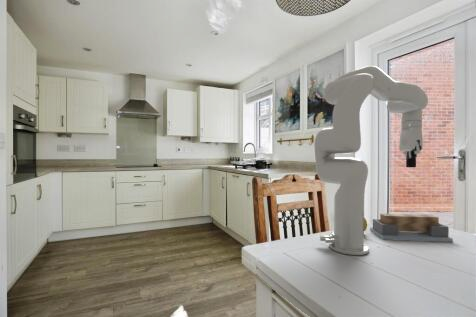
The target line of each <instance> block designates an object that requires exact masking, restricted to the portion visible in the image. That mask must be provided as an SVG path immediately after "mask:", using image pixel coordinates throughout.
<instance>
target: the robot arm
mask: <svg viewBox="0 0 476 317" xmlns="http://www.w3.org/2000/svg"><path fill="white" fill-rule="evenodd" d="M369 95H371V96H372V97H373V98H375V99H376V100H379V101H381V102H382V101H383V102H386V109H387V111H388V112H389V113H391V114H395V115H397V114H401V115H400V116H401V117H400V118H401V119H400V120H401V124H400V125H401V129H400V134H399V145H398V146H399V148H398V149H399V151H400V152H402V153H403V154H404V155H405V160H406V161H405V167H406V168H416V167H417V158H418V155H419V154H420V153H421V151H422V150H423V146H424V145H423V144H424V140H423V130H422V129H423V110H425V109H427V106H428V105H429V97H428V95H427V93H426V92H425V91H424V90H423V89H422V88H421V87H420V86H419V85H416V84H414V83H410V82H406V81H405V82H403V81H398V80H394V79H393V78H391V77H390V75H388V74H386V72H384V71H383V70H382V69H381V68H379V67H378V66H375V65H367V66H363V67H361V68H358V69H354V70H352V71H349V72H346V73H344V74H343V75H341V76H339V77H337V78H336V79H334V80H331V81H329V83H327V84H326V85H325V87H324V90H323V98H324V100H325V102H327V104H330V105H334V107H333V111H332V127H327V128H323V129H320V130H319V131H318V132H317V134H316V136H315V138H314V156H315V168H316V169H315V170H316V173H317V174H316V175H317V177H318V179H319V180H320V181H321V182H324V183H326V184H327V183H328V184H334V185H335V184H336V185H339V188H338V189H337V190H336V192H335V194H334V199H333V202H334V203H333V204H334V205H333V206H334V207H333V208H334V209H333V213H334V214H333V217H334V218H333V219H334V220H333V232H331V234H328V235H323V234H321V235H319V240H320V242H325V244H326V243H327V244H328V245H329V248H330V249H331V250H333V251H334V252H337V253H340V254H344V255H347V256H349V255H350V256H362V255H366V254H368V253H369V252H370V248H369V246H368V245H367V244H365V242H364V241H365V231H364V218H365V192H366V184H367V180H368V175H369V167H368V165H367V163H366V162H365V161H364V160H362V159H360V158H356V157H335V155H348V154H356V153H357V152H359V150H360V149H361V146H362V137H361V136H362V135H361V134H362V133H361V122H360V120H361V118H360V115H361V114H360V113H361V108H362V105H363V103H364V102H365V100H366V99H367V97H368V96H369Z"/></svg>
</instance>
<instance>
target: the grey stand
mask: <svg viewBox="0 0 476 317" xmlns="http://www.w3.org/2000/svg"><path fill="white" fill-rule="evenodd" d="M369 230H370V231H371V232H372V233H373V232H374V234H375V235H376V236H378V237H379V238H381V239H382V240H395V241H397V240H398V241H420V242H422V241H423V242H442V243H443V242H447V243H448V242H449V243H452V242H454V239H453V238H452V237H449V226H448V225H444V224H442V223H440V222H439V224H438V226H434V225H429V232H408V231H399V225H397V224H383V223H381V222H380V218H372V226H370V227H369Z"/></svg>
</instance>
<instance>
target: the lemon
mask: <svg viewBox="0 0 476 317" xmlns="http://www.w3.org/2000/svg"><path fill="white" fill-rule="evenodd" d="M367 227H368V221H367V219H366V218H365V217H364V232H365V231H366V230H367V229H368V228H367Z"/></svg>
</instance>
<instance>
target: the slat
mask: <svg viewBox="0 0 476 317" xmlns="http://www.w3.org/2000/svg"><path fill="white" fill-rule="evenodd" d="M379 217H380V218H379V219H380V222H381V223H383V224H397V225H399V231H408V232H429V225H434V226H438V224H439V223H440V222H439V221H440V220H439V218H440V217H439V216H435V215H433V214H413V213H412V214H411V213H409V214H408V213H407V214H406V213H404V214H403V213H380V216H379Z"/></svg>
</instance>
